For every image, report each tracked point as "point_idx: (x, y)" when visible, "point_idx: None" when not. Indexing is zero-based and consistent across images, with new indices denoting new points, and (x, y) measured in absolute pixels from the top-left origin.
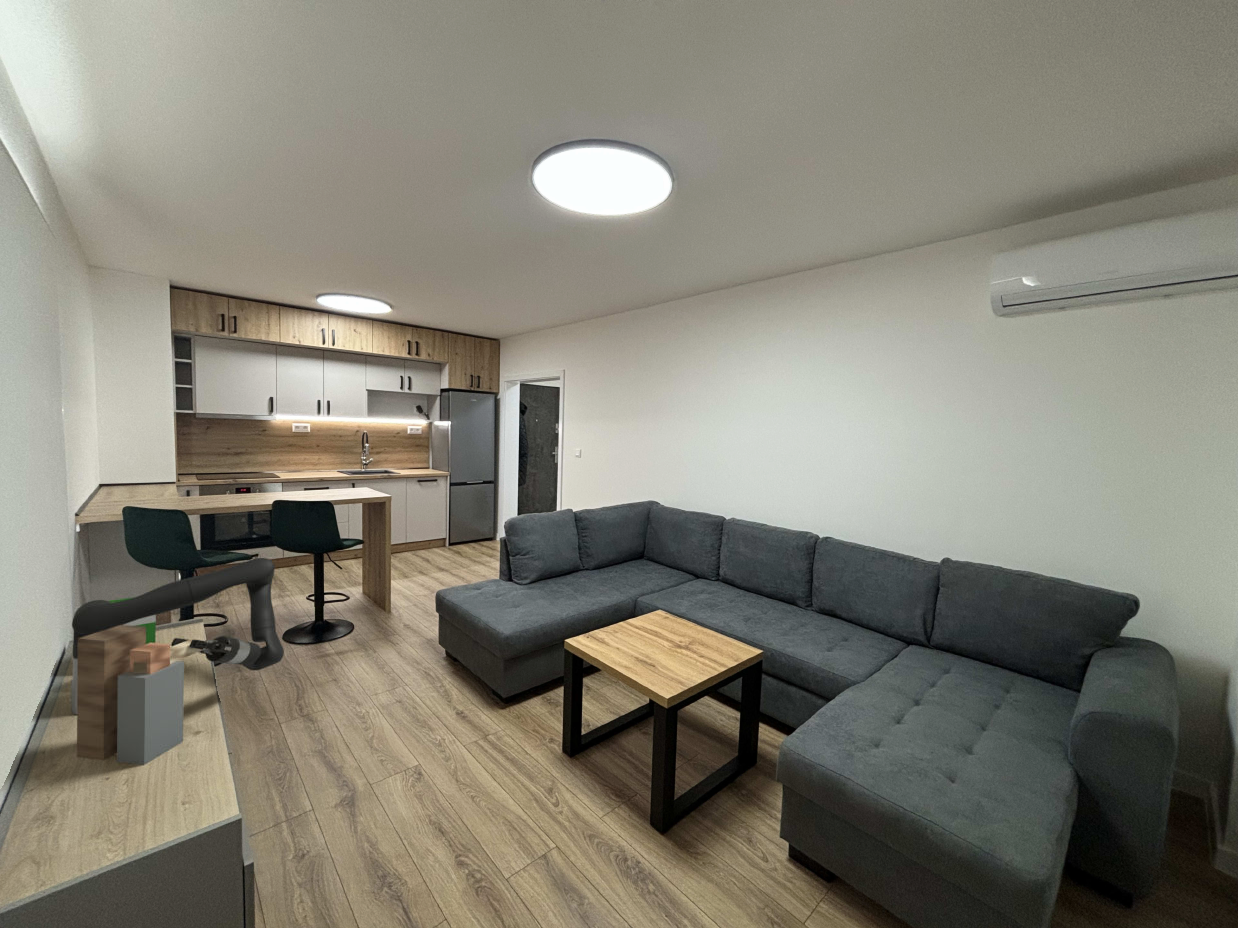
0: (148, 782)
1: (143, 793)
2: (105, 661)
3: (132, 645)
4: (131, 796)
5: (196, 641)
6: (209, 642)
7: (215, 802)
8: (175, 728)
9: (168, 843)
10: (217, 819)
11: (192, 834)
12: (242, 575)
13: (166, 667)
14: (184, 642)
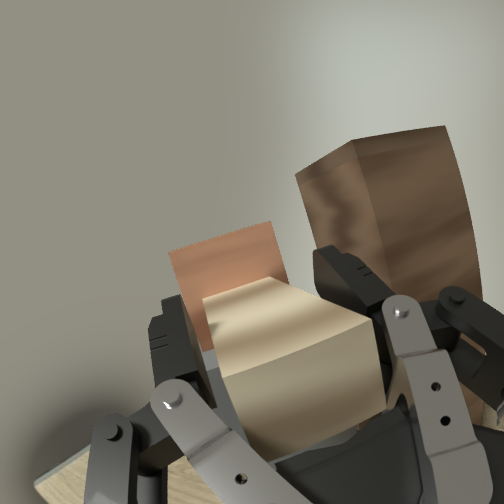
0: (195, 497)
1: (174, 485)
2: (315, 240)
3: (344, 214)
4: (185, 477)
5: (157, 318)
6: (156, 413)
7: (61, 497)
8: None
9: (73, 458)
10: (45, 482)
11: (58, 468)
12: None
13: (200, 348)
14: (307, 306)
